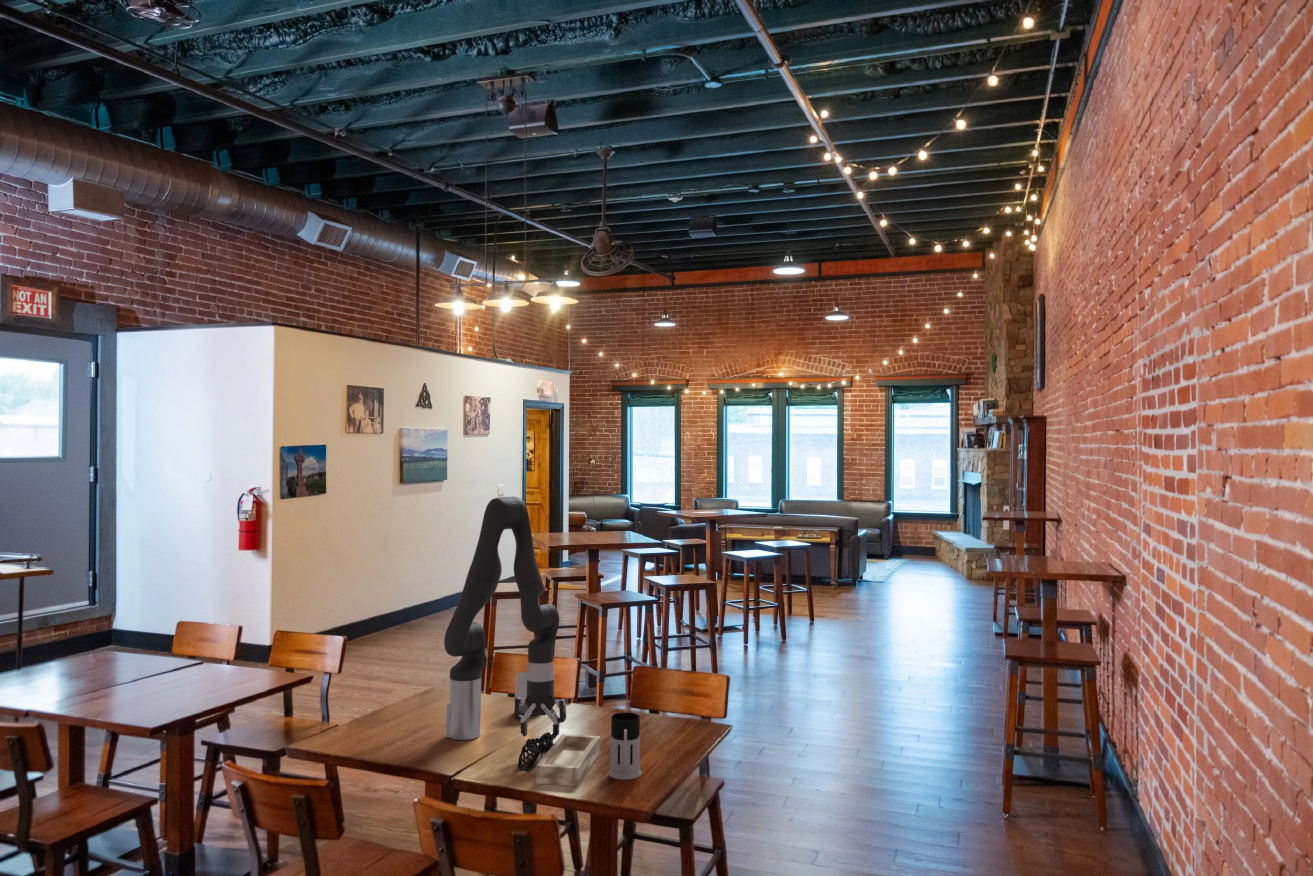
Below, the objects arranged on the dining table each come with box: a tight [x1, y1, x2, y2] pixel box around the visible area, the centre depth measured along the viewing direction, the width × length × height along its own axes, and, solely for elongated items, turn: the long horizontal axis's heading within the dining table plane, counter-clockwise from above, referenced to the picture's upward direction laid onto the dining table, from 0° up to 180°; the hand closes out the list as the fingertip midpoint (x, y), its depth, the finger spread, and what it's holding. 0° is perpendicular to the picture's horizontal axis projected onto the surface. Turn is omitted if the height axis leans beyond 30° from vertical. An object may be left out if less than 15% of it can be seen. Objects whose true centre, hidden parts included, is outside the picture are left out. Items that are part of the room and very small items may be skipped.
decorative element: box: [517, 731, 556, 772], centre depth 252 cm, size 22×5×6 cm, turn 169°
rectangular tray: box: [535, 733, 601, 787], centre depth 245 cm, size 11×27×4 cm, turn 172°
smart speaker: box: [514, 671, 535, 716], centre depth 296 cm, size 10×9×14 cm
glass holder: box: [608, 712, 642, 780], centre depth 238 cm, size 9×14×15 cm, turn 2°
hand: (540, 736), depth 252 cm, fingers open, 8 cm apart
